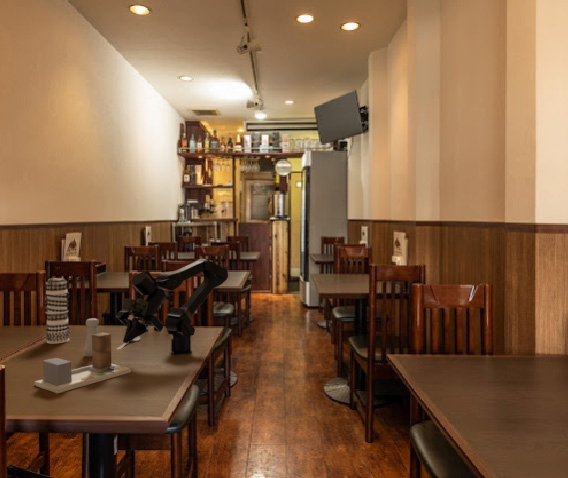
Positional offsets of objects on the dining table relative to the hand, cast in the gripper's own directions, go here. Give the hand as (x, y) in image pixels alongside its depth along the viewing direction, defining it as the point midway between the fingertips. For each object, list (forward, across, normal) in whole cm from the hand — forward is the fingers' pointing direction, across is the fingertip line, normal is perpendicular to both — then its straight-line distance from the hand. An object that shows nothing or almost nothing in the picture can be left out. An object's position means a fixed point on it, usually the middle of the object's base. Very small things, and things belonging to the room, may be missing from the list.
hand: (124, 342), depth 163 cm
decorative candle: (+1, -54, +11) cm, 55 cm away
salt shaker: (+4, -22, +8) cm, 24 cm away
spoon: (-7, -26, +20) cm, 33 cm away
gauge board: (+16, 0, -4) cm, 16 cm away
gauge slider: (+11, +1, -1) cm, 11 cm away
